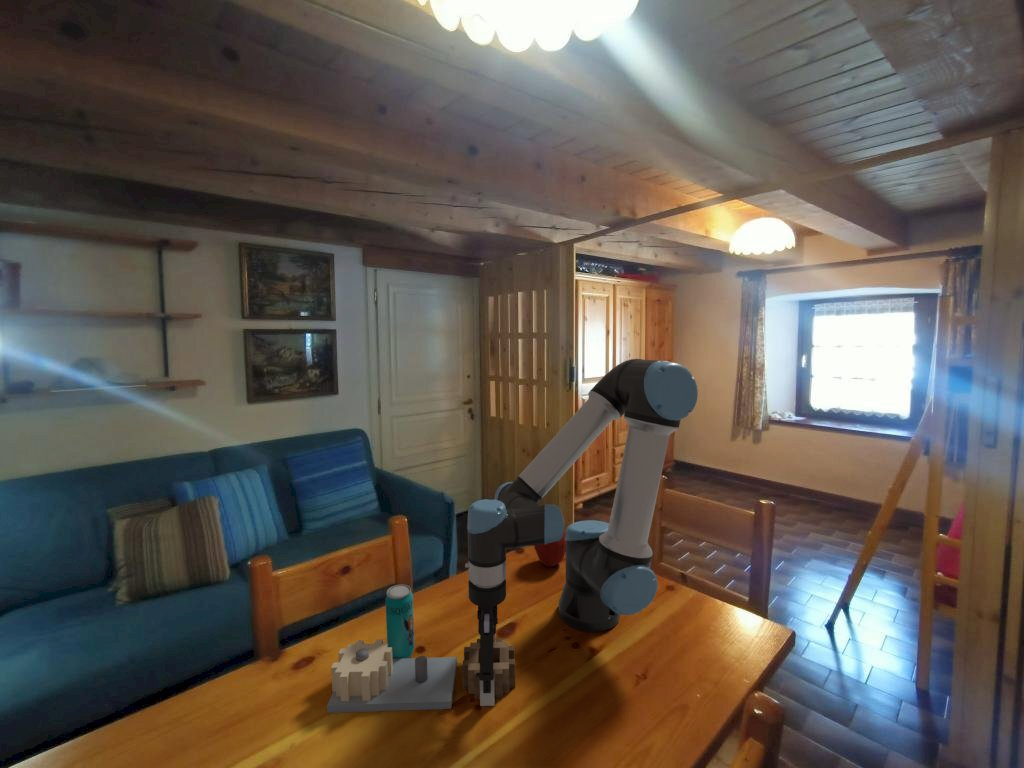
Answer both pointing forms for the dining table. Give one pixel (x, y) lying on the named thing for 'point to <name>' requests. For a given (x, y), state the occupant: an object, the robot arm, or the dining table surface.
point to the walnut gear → (501, 668)
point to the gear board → (389, 680)
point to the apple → (551, 552)
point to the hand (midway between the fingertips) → (488, 677)
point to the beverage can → (400, 621)
